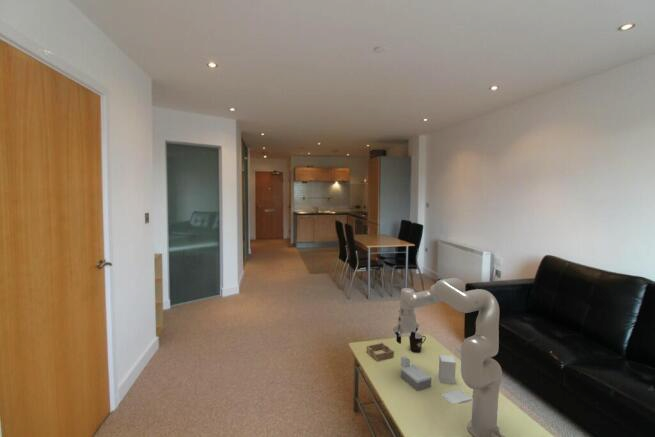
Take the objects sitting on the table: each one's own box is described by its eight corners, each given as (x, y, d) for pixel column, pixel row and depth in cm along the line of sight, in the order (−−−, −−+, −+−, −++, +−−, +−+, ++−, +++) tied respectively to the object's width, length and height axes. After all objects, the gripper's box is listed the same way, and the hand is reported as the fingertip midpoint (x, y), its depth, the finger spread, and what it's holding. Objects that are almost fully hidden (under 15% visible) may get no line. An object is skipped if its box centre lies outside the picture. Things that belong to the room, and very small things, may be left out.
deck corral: (393, 357, 193) (393, 351, 192) (377, 361, 188) (377, 355, 187) (382, 348, 204) (382, 342, 203) (366, 352, 199) (366, 346, 198)
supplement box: (455, 386, 164) (456, 362, 163) (440, 384, 166) (441, 361, 165) (452, 378, 171) (453, 356, 171) (438, 376, 173) (439, 354, 172)
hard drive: (459, 389, 160) (439, 393, 156) (471, 398, 152) (451, 403, 148) (459, 392, 160) (439, 396, 156) (471, 401, 152) (451, 407, 148)
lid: (431, 378, 162) (431, 370, 161) (417, 383, 158) (417, 374, 157) (409, 362, 177) (409, 355, 177) (396, 366, 173) (396, 358, 173)
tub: (430, 388, 162) (431, 378, 162) (417, 392, 158) (417, 383, 158) (413, 375, 174) (414, 366, 173) (400, 378, 170) (401, 370, 169)
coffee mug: (410, 353, 198) (410, 338, 197) (407, 347, 207) (407, 332, 206) (428, 354, 198) (429, 338, 197) (424, 347, 206) (425, 332, 206)
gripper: (398, 315, 164) (397, 347, 166) (423, 311, 172) (422, 341, 173) (390, 310, 171) (388, 341, 172) (414, 306, 178) (413, 335, 180)
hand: (405, 341), depth 173 cm, fingers open, 9 cm apart
